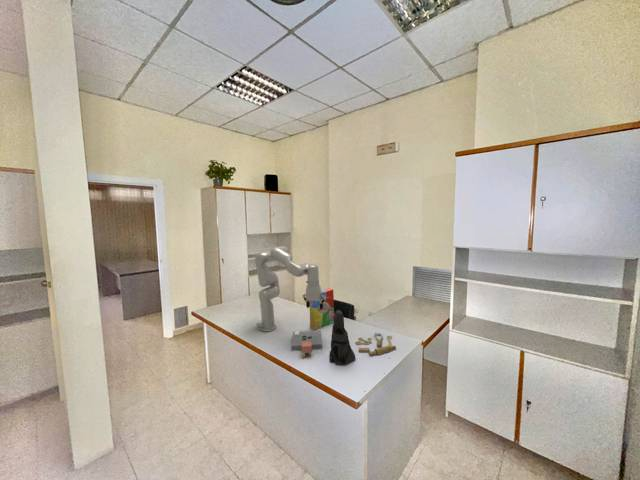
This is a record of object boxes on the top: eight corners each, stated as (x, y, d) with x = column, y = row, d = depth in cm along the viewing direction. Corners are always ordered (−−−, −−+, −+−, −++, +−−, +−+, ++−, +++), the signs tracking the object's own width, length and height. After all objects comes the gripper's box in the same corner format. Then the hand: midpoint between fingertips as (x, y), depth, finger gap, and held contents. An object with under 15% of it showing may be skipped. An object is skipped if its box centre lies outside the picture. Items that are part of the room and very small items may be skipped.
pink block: (302, 357, 154) (301, 346, 153) (302, 352, 160) (301, 341, 159) (311, 357, 154) (311, 346, 153) (311, 351, 160) (311, 341, 159)
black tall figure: (339, 368, 141) (337, 316, 138) (324, 358, 152) (322, 309, 149) (357, 359, 149) (356, 310, 146) (341, 350, 160) (340, 304, 158)
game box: (314, 330, 190) (312, 295, 187) (309, 328, 194) (308, 293, 191) (334, 322, 203) (333, 289, 200) (330, 320, 207) (329, 287, 204)
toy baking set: (377, 330, 187) (377, 325, 187) (407, 343, 167) (407, 338, 167) (345, 345, 167) (345, 340, 167) (375, 362, 147) (375, 356, 147)
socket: (291, 350, 162) (291, 344, 162) (293, 335, 182) (292, 330, 182) (322, 348, 163) (322, 343, 163) (320, 334, 183) (320, 329, 183)
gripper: (299, 283, 169) (300, 308, 171) (323, 285, 162) (324, 311, 164) (304, 281, 176) (305, 305, 177) (327, 282, 169) (328, 307, 170)
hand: (314, 308), depth 171 cm, fingers open, 9 cm apart
